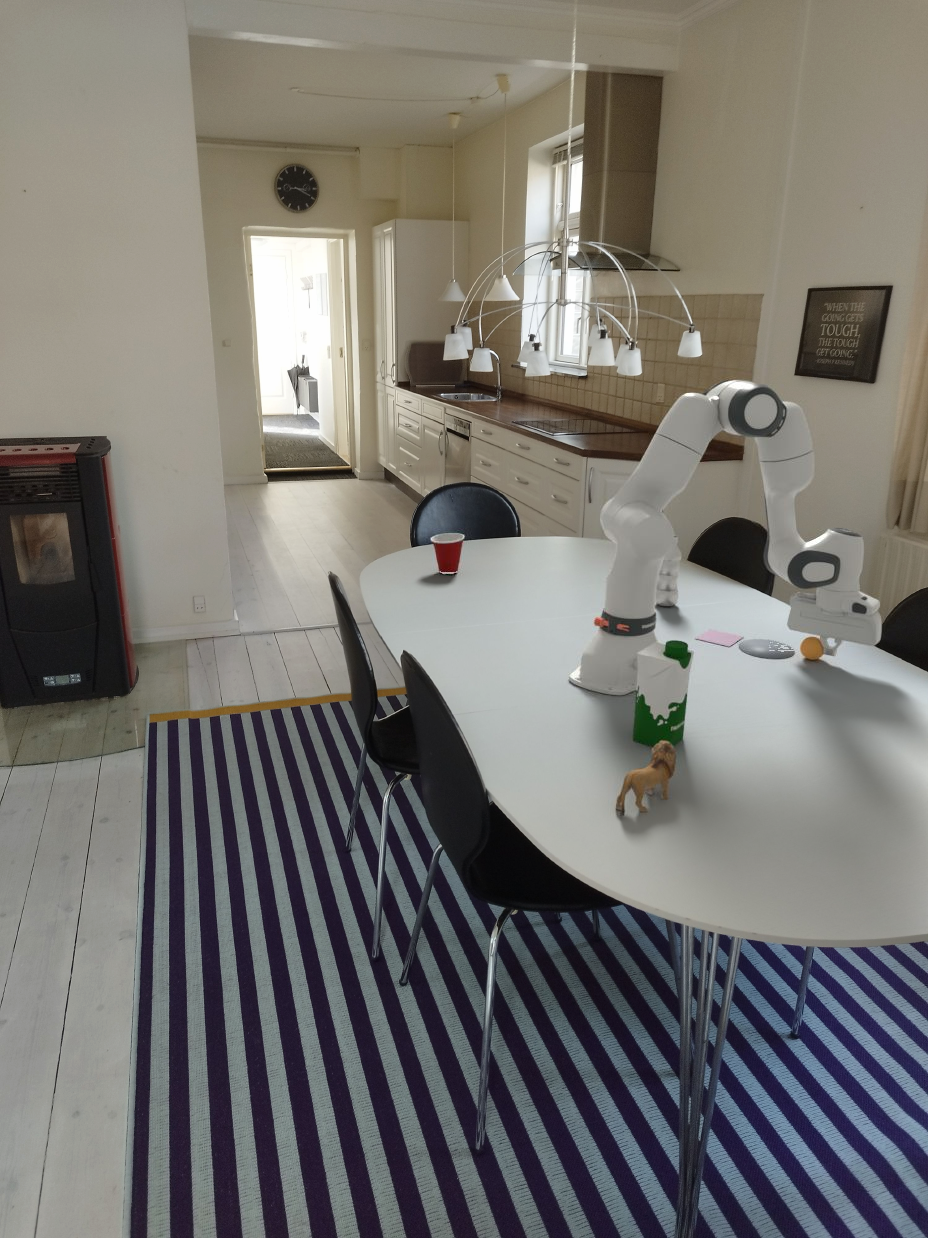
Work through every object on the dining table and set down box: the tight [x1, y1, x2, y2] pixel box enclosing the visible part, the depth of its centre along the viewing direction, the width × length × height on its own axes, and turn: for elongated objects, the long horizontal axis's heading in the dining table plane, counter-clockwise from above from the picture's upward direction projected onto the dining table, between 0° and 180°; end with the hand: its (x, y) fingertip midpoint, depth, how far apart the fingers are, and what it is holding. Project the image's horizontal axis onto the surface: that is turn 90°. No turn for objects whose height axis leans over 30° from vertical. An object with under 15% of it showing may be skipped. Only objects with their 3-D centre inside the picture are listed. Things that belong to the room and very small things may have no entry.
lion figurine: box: [615, 740, 677, 817], centre depth 140 cm, size 15×5×9 cm, turn 139°
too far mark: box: [694, 628, 744, 648], centre depth 216 cm, size 9×9×1 cm
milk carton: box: [632, 639, 695, 748], centre depth 160 cm, size 9×9×20 cm
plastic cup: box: [430, 532, 465, 572], centre depth 271 cm, size 11×11×12 cm
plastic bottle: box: [655, 534, 682, 607], centre depth 238 cm, size 6×7×20 cm
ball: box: [799, 636, 824, 661], centre depth 202 cm, size 6×6×6 cm
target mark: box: [738, 638, 795, 660], centre depth 209 cm, size 13×13×1 cm
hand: (829, 654), depth 200 cm, fingers closed
